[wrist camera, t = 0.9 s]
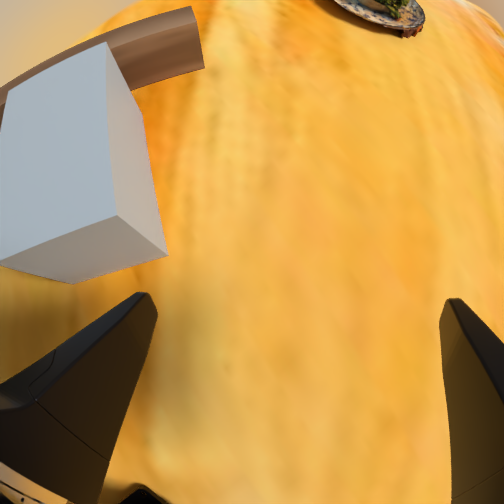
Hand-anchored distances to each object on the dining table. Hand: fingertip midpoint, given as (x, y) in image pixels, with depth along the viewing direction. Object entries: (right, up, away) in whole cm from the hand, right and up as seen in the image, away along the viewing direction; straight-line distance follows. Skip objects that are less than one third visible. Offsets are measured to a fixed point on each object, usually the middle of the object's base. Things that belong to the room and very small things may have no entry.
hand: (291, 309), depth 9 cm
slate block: (-11, +6, +11) cm, 17 cm away
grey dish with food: (+12, +28, +16) cm, 35 cm away
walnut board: (-14, +15, +13) cm, 24 cm away
